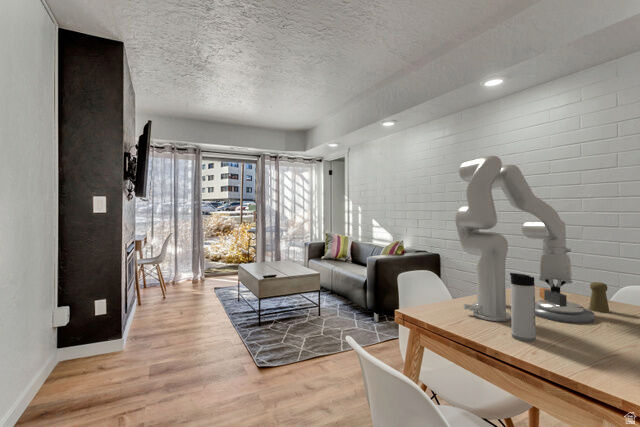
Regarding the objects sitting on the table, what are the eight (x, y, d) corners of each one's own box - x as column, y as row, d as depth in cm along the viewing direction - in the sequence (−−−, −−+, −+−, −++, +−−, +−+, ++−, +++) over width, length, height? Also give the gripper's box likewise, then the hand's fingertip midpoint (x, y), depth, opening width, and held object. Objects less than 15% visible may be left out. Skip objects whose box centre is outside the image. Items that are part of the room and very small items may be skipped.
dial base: (544, 321, 111) (544, 314, 111) (519, 306, 131) (519, 299, 131) (609, 324, 107) (609, 317, 107) (573, 308, 127) (573, 301, 127)
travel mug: (506, 334, 100) (505, 271, 100) (527, 334, 100) (526, 271, 100) (518, 342, 94) (516, 275, 94) (540, 342, 93) (539, 275, 94)
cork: (613, 313, 120) (612, 284, 120) (595, 312, 121) (594, 283, 121) (602, 308, 126) (602, 281, 126) (585, 307, 127) (584, 280, 127)
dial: (593, 314, 111) (593, 298, 111) (552, 313, 112) (552, 298, 113) (560, 301, 128) (560, 288, 128) (525, 301, 129) (524, 287, 129)
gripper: (578, 251, 124) (579, 297, 124) (533, 249, 134) (534, 292, 134) (578, 253, 119) (579, 301, 118) (531, 250, 128) (532, 295, 128)
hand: (555, 296), depth 126 cm, fingers closed
